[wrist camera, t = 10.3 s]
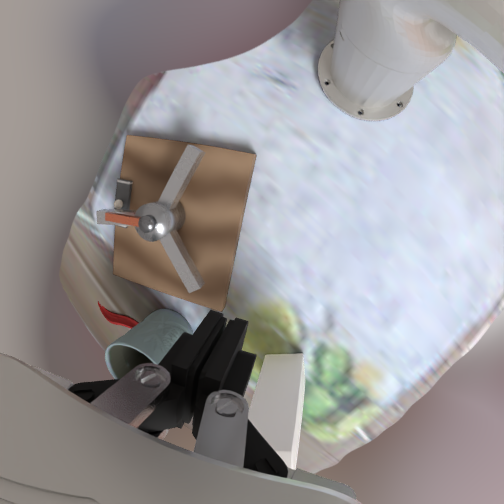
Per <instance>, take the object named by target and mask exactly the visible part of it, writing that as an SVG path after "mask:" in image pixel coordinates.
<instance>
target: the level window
mask: <svg viewBox="0 0 504 504" xmlns="http://www.w3.org/2000/svg"><path fill="white" fill-rule="evenodd" d="M132 184H133V181H130V180H125V179H118V180H117V189H116V199H115V201H116V200H118V199H119V200H122V202H123V207H122V208H121V209H118V210H129V209H130V200H131V191H132ZM115 209H116V208H115ZM116 226H119V227H123V228H128V226H124V225H116Z"/></svg>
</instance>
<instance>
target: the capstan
mask: <svg viewBox="0 0 504 504" xmlns="http://www.w3.org/2000/svg"><path fill="white" fill-rule="evenodd" d="M205 153H206V152H204V151H202V150H201V149H199V148H197V147H195V146H194V145H187V147H186V149H185V151H184V153H183V154H182V156H181V158H180V160H179V162H178V164H177V165H176V167H175V169H174V171H173V173H172V175H171V177H170V179H169V181H168V183H167V185H166V187H165V189H164V190H163V192H162V194H161V197H160V199H159V201H155V202H152V203H148V204H144V205H142V206H141V207H139V208H138V210H118V209H103V210H99V211H97V224H107V225H124V226H135V229H136V231H137V233H138V234H139V236H140V237H141V238H143V239H144V240H146V241H149V242H154V241H157V240H160V242H161V244H162V245H163V247H164V249H165V251H166V253H167V255H168V257H169V258H170V260H171V262H172V264H173V266H174V267H175V269H176V271H177V273H178V275H179V276H180V278H181V280H182V282H183V283H184V285H185V287H186V289H187V290H188V292H189V293H191V292H193V291H196V290H198V289H200V288H201V287H202V286H203V285H204V284H205V282H204V280H203V278H202V276H201V275H200V273H199V271H198V269H197V267H196V266H195V264H194V262H193V260H192V258H191V257H190V255H189V253H188V251H187V249H186V247H185V246H184V244H183V242H182V240H181V238H180V236H179V234H178V232H177V231H178V230H179V229H180V228H181V227H182V226H183V225H184V223H185V218H186V214H185V210H184V207H183V206H182V204H181V203H180V202H179V200H180V198H181V196H182V194H183V193H184V191H185V189H186V187H187V185H188V183H189V182H190V180H191V178H192V176H193V174H194V172H195V171H196V169H197V167H198V165H199V164H200V162H201V160H202V158H203V157H204V155H205Z"/></svg>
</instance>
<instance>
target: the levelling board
mask: <svg viewBox="0 0 504 504" xmlns="http://www.w3.org/2000/svg"><path fill="white" fill-rule="evenodd" d="M187 145H194V146H195V147H197V148H199V149H201V150H202V151H204V152H206V153H205V155H204V157H203V158H202V160H201V162H200V164H199V165H198V167H197V169H196V171H195V172H194V174H193V176H192V178H191V180H190V182H189V183H188V185H187V187H186V189H185V191H184V193H183V194H182V196H181V198H180V200H179V202H180V203H181V204H182V206H183V207H184V210H185V214H186V218H185V223H184V225H183V226H182V227H181V228H180V229H179V230H178V231H177V232H178V234H179V236H180V238H181V240H182V242H183V244H184V246H185V247H186V249H187V251H188V253H189V255H190V257H191V258H192V260H193V262H194V264H195V266H196V267H197V269H198V271H199V273H200V275H201V276H202V278H203V280H204V282H205V284H204V285H203V286H202V287H201V288H200V289H198V290H196V291H193V292H191V293H189V292H188V290H187V289H186V287H185V285H184V283H183V282H182V280H181V278H180V276H179V275H178V273H177V271H176V269H175V267H174V266H173V264H172V262H171V260H170V258H169V257H168V255H167V253H166V251H165V249H164V247H163V245H162V244H161V242H160V240H157V241H154V242H149V241H146V240H144V239H143V238H141V237H140V236H139V234H138V233H137V231H136V229H135V226H128V228H123V227H119V226H116V225H115V239H114V261H113V274H114V275H116V276H119V277H121V278H124V279H127V280H129V281H132V282H135V283H138V284H140V285H143V286H146V287H149V288H152V289H154V290H157V291H160V292H163V293H166V294H169V295H172V296H175V297H178V298H181V299H184V300H187V301H190V302H193V303H196V304H199V305H202V306H205V307H208V308H211V309H215V310H218V311H221V312H222V311H223V309H224V308H225V304H226V299H227V294H228V289H229V284H230V279H231V274H232V269H233V264H234V259H235V254H236V249H237V245H238V240H239V235H240V230H241V225H242V221H243V216H244V211H245V206H246V202H247V197H248V192H249V188H250V183H251V178H252V174H253V169H254V164H255V160H256V155H255V154H251V153H246V152H241V151H235V150H230V149H225V148H219V147H213V146H207V145H201V144H195V143H188V142H181V141H174V140H167V139H159V138H150V137H141V136H132V135H127V137H126V143H125V149H124V155H123V162H122V168H121V176H120V179H125V180H130V181H133V184H132V191H131V200H130V209H129V210H138V208H139V207H141V206H142V205H144V204H148V203H152V202H155V201H159V199H160V197H161V194H162V192H163V190H164V189H165V187H166V185H167V183H168V181H169V179H170V177H171V175H172V173H173V171H174V169H175V167H176V165H177V164H178V162H179V160H180V158H181V156H182V154H183V153H184V151H185V149H186V147H187Z"/></svg>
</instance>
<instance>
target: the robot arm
mask: <svg viewBox="0 0 504 504" xmlns="http://www.w3.org/2000/svg"><path fill="white" fill-rule="evenodd" d="M457 35H458V36H459V37H460V38H462V39H463V40H465V41H467V42H468V43H470V44H471V45H472V46H473V47H475V48H476V49H477V50H478V51H479V52H481V53H482V54H483V55H484V56H485V57H486V58H487V59H489V60H490V61H491V62H492V63H493V64H494V65H495V66H496V67H497V68H498V69H499V70H500V71H502V72H503V73H504V0H340V4H339V11H338V18H337V26H336V33H335V39H334V40H332V41H331V42H330V43H329V44H328V45H327V46H326V47H325V48H324V50H323V51H322V53H321V55H320V58H319V62H318V77H319V81H320V85H321V87H322V89H323V91H324V93H325V94H326V96H327V97H328V99H329V100H330V101H331V102H332V103H333V104H334V105H335V106H336V107H337V108H339V109H340V110H341V111H342V112H344V113H346V114H348V115H350V116H352V117H354V118H357V119H360V120H366V121H382V120H387V119H389V118H392V117H394V116H396V115H397V114H399V113H400V112H401V111H403V110H404V109H405V108H406V106H407V105H408V103H409V102H410V100H411V97H412V94H413V88H414V85H415V84H416V83H418V82H419V81H420V80H422V79H423V78H424V77H425V76H427V75H428V74H429V73H430V72H432V71H433V70H434V69H435V68H437V67H438V66H439V65H440V64H442V63H443V62H444V61H445V60H446V59H447V58H448V57H449V55H450V54H451V52H452V50H453V48H454V46H455V42H456V37H457ZM326 82H327V83H328V84H329V85H325V83H326ZM397 104H399V105H400V107H398V106H397ZM359 111H360V112H361V113H362V114H361V115H359V114H358V112H359ZM226 322H227V318H224V317H223V314H222V313H219V312H216V311H213V310H210V311H209V313H208V314H207V316H206V317H205V318H204V320H203V321H202V322H201V324H200V325H199V327H198V328H197V329H196V331H195V332H194V334H193V335H192V334H189V333H187V332H184V333H183V334H182V335H181V336H180V337H179V338H178V340H177V341H176V342H175V344H174V345H173V346H172V347H171V349H170V350H169V351H168V352H167V354H166V355H165V356H164V358H163V359H162V360H161V361H160V363H159V364H153V363H144V364H140V365H138V366H136V367H135V368H133V369H132V370H131V371H130V372H128V373H127V374H126V375H125V376H124V377H122V378H121V379H114V380H105V381H95V382H84V383H78V384H75V385H74V384H73V383H72V381H70V380H68V379H65V378H62V377H60V376H57V375H55V374H52V373H50V372H47V371H45V370H43V369H40V368H38V367H35V366H30V365H28V364H26V363H25V362H23V361H21V360H19V359H17V358H15V357H12V356H9V355H6V354H2V353H0V504H362V503H360V502H358V501H357V500H356V495H355V492H354V490H353V489H352V488H350V486H347V485H345V484H343V483H339V482H336V481H332V480H330V479H327V478H323V477H320V476H318V475H315V474H312V473H309V472H306V471H303V470H301V469H298V468H297V469H296V470H294V469H291V468H288V467H287V465H286V464H285V462H284V461H283V460H282V459H281V457H280V456H279V455H278V454H277V453H276V452H275V451H274V449H273V448H272V447H271V446H270V445H269V444H268V442H267V441H266V440H265V439H264V438H263V436H262V435H261V434H260V433H259V431H258V430H257V429H256V428H255V427H254V425H253V424H252V423H251V422H250V420H249V419H248V411H249V407H248V403H247V401H246V399H245V398H244V394H245V391H246V388H247V385H248V382H249V379H250V376H251V372H252V369H253V366H254V362H255V359H256V354H252V353H249V352H245V351H242V346H243V342H244V338H245V334H246V330H247V326H248V321H246V320H242V319H239V318H235V320H231V319H230V321H229V322H228V324H227V326H226ZM225 327H226V328H225ZM192 417H193V423H192V425H193V430H192V434H193V436H194V437H195V439H196V444H195V448H194V452H192V451H189V450H186V449H184V448H181V447H179V446H176V445H173V444H171V443H169V442H166V441H164V440H162V439H163V438H164V437H165V436H166V434H167V432H168V429H170V428H175V427H178V428H182V426H183V424H184V422H185V423H188V424H189V423H190V421H191V419H192Z"/></svg>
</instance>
